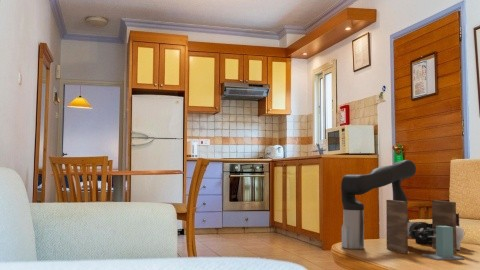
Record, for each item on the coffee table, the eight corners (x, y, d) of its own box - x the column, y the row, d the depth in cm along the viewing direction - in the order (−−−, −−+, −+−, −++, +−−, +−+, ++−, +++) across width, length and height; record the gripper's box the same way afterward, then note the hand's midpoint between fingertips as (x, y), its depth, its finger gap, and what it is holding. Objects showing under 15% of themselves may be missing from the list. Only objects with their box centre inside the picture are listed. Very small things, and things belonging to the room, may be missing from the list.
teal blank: (443, 257, 204) (442, 227, 205) (436, 255, 209) (435, 225, 210) (453, 257, 205) (452, 227, 206) (445, 255, 210) (445, 225, 211)
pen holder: (415, 243, 249) (415, 223, 250) (413, 241, 258) (413, 221, 259) (436, 244, 247) (435, 224, 248) (433, 242, 256) (433, 222, 257)
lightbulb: (464, 250, 230) (463, 225, 231) (465, 252, 224) (465, 226, 225) (449, 249, 232) (448, 224, 233) (450, 251, 226) (449, 226, 227)
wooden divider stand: (404, 254, 214) (404, 201, 216) (386, 248, 230) (386, 199, 232) (456, 253, 219) (455, 202, 221) (435, 248, 235) (434, 200, 237)
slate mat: (436, 260, 200) (436, 258, 200) (421, 255, 211) (421, 254, 211) (463, 259, 203) (463, 258, 203) (447, 255, 213) (447, 253, 213)
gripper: (401, 222, 228) (421, 225, 212) (430, 222, 230) (451, 226, 214) (401, 239, 227) (421, 244, 211) (430, 239, 230) (452, 244, 214)
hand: (436, 235), depth 213 cm, fingers open, 8 cm apart
